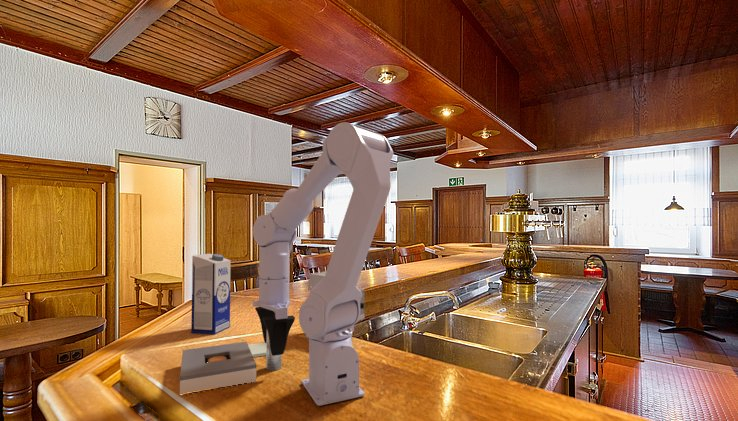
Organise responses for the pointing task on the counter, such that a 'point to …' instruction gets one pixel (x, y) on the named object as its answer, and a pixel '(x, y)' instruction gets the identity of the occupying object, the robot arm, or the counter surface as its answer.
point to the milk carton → (210, 293)
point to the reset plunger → (217, 358)
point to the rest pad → (258, 349)
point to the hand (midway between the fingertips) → (273, 348)
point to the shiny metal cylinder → (272, 358)
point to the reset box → (216, 367)
